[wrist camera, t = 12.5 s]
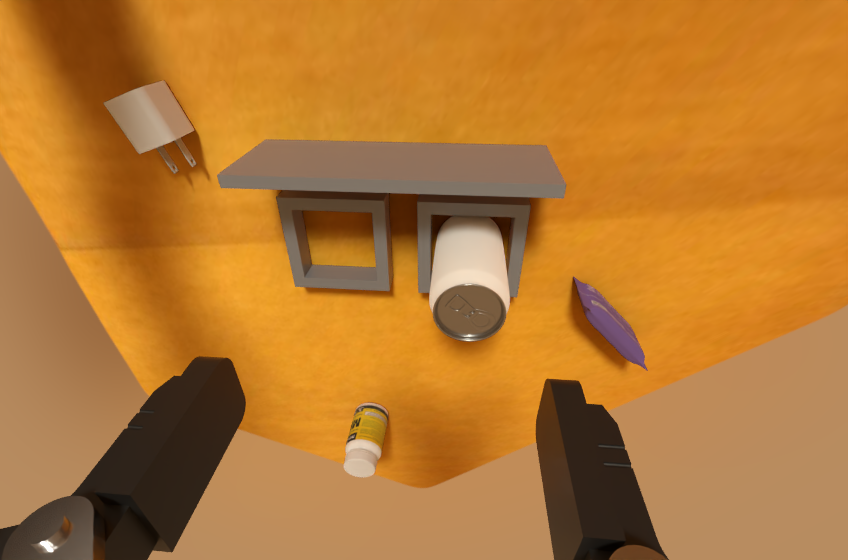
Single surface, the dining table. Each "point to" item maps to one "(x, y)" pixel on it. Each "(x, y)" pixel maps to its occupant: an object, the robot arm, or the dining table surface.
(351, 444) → the supplement bottle
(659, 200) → the dining table surface
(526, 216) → the dock
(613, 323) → the snack package
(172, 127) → the usb wall charger
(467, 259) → the can
